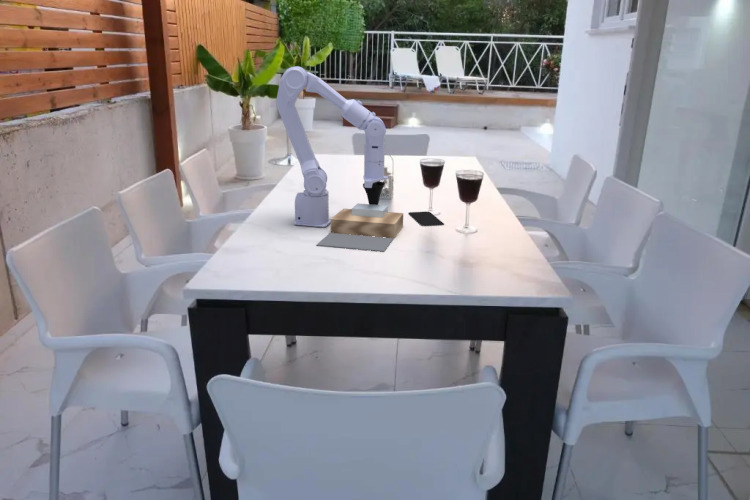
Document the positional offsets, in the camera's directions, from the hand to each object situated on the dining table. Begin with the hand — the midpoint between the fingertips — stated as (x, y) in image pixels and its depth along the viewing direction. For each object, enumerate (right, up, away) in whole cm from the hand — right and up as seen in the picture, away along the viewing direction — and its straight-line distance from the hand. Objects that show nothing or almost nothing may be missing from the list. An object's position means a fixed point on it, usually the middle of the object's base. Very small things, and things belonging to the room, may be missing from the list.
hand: (373, 207), depth 172 cm
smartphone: (+16, -4, +7) cm, 18 cm away
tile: (-1, -2, -4) cm, 4 cm away
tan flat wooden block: (-2, -7, -5) cm, 8 cm away
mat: (-5, -10, -16) cm, 20 cm away
